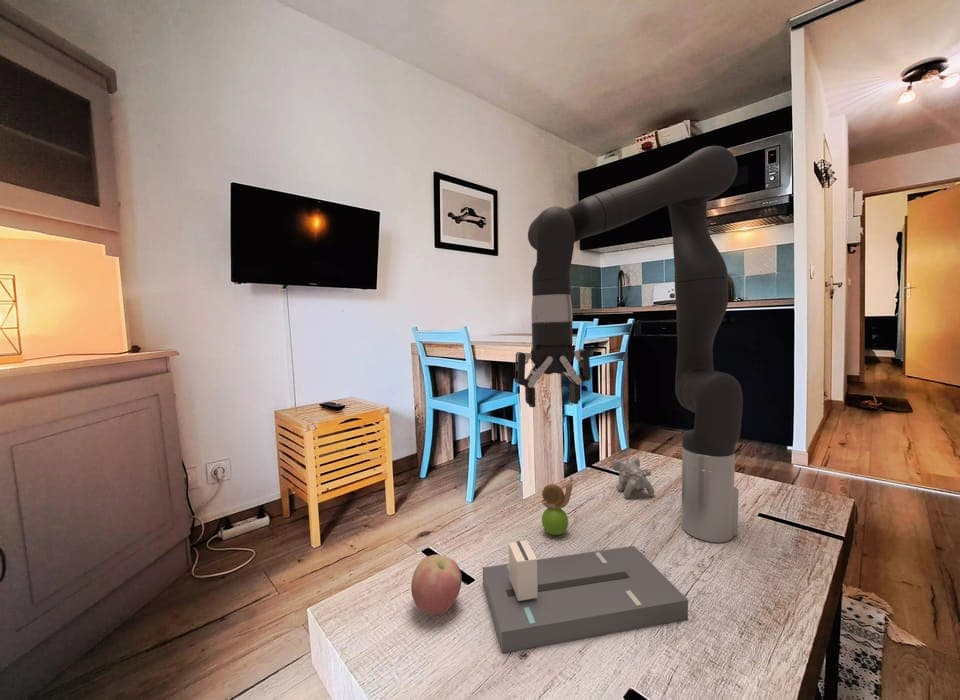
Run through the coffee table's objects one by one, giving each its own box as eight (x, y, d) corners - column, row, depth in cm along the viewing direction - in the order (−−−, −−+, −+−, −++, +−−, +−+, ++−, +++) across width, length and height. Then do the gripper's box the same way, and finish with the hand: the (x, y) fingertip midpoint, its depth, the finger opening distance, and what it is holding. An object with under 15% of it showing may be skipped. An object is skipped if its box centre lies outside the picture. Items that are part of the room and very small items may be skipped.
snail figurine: (573, 542, 78) (573, 483, 77) (541, 539, 79) (540, 482, 78) (572, 527, 83) (572, 473, 82) (542, 525, 84) (541, 471, 83)
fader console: (634, 561, 71) (634, 545, 71) (687, 619, 57) (688, 599, 57) (483, 584, 66) (482, 566, 66) (502, 653, 52) (501, 631, 52)
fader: (527, 576, 63) (526, 539, 62) (537, 597, 58) (536, 558, 57) (509, 578, 62) (508, 541, 62) (518, 600, 57) (517, 560, 57)
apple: (441, 636, 55) (439, 583, 55) (401, 616, 59) (399, 566, 59) (471, 601, 62) (470, 553, 61) (434, 585, 66) (432, 540, 66)
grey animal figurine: (633, 504, 93) (633, 472, 92) (598, 485, 104) (598, 456, 103) (661, 495, 96) (661, 465, 96) (624, 478, 107) (624, 451, 107)
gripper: (578, 319, 78) (579, 398, 79) (510, 321, 76) (512, 403, 77) (596, 318, 71) (597, 406, 72) (520, 321, 68) (522, 412, 70)
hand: (553, 404), depth 75 cm, fingers open, 8 cm apart
